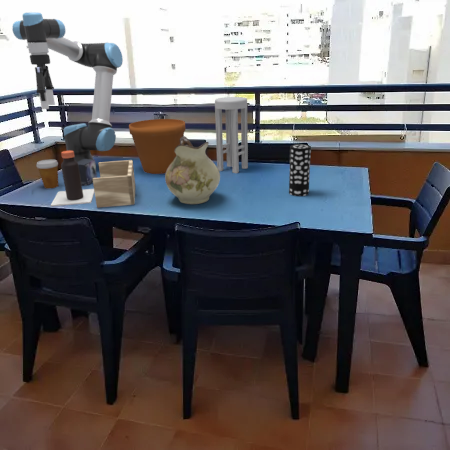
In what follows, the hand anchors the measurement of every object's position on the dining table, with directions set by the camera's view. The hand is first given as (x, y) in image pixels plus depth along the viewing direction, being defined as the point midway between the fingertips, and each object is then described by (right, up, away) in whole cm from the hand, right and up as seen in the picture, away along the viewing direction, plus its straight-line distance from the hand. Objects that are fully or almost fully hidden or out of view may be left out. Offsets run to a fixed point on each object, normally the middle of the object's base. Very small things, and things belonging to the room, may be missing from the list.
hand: (48, 106), depth 189 cm
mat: (+11, -39, +1) cm, 41 cm away
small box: (+10, -31, +21) cm, 39 cm away
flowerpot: (+43, -22, +40) cm, 63 cm away
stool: (+80, -23, +36) cm, 90 cm away
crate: (+29, -38, +2) cm, 48 cm away
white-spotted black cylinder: (+108, -38, -2) cm, 114 cm away
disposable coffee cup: (-5, -33, +17) cm, 38 cm away
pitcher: (+63, -40, -5) cm, 75 cm away
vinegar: (+12, -40, -1) cm, 41 cm away
